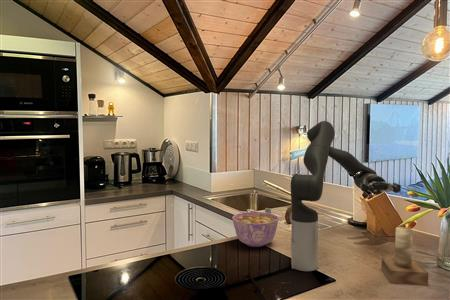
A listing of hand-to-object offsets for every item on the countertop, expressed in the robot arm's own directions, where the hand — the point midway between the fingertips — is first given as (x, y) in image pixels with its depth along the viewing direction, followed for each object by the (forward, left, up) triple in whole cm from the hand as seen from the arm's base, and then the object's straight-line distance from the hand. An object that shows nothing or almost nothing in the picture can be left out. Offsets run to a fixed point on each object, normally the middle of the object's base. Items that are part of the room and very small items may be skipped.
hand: (384, 190), depth 131 cm
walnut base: (+2, -17, -26) cm, 31 cm away
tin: (-32, +47, -26) cm, 63 cm away
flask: (-45, +32, -26) cm, 61 cm away
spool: (+2, -17, -22) cm, 28 cm away
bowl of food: (-50, +9, -26) cm, 57 cm away
